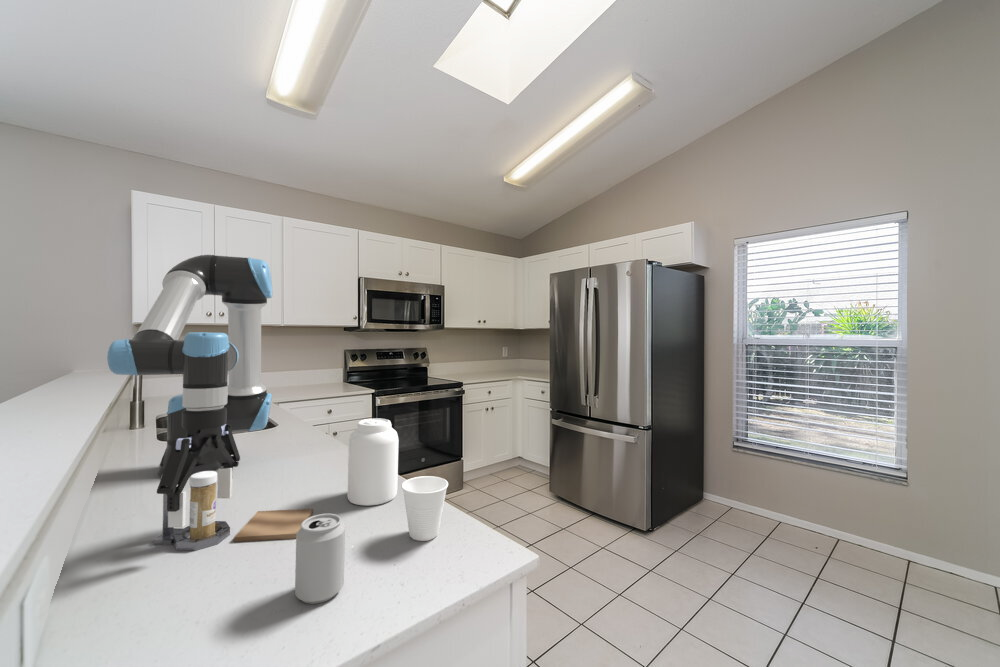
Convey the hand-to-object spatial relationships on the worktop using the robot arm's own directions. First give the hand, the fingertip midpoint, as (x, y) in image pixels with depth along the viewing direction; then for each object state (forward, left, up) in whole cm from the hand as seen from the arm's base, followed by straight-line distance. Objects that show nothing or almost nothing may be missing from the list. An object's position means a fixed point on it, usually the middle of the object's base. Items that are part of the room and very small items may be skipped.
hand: (202, 511), depth 84 cm
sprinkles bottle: (0, 0, -6) cm, 6 cm away
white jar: (-23, +28, -6) cm, 37 cm away
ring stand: (0, -2, -6) cm, 6 cm away
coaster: (-6, +12, -6) cm, 15 cm away
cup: (-4, +45, -6) cm, 45 cm away
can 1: (+16, +31, -6) cm, 35 cm away
